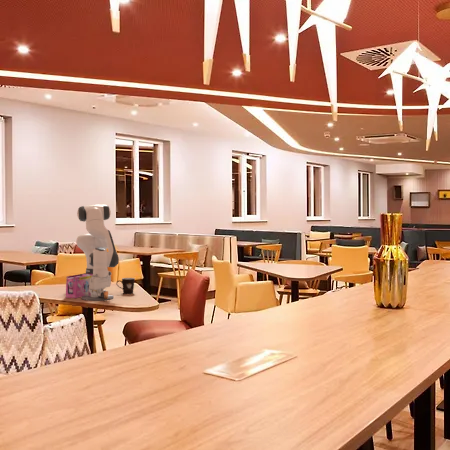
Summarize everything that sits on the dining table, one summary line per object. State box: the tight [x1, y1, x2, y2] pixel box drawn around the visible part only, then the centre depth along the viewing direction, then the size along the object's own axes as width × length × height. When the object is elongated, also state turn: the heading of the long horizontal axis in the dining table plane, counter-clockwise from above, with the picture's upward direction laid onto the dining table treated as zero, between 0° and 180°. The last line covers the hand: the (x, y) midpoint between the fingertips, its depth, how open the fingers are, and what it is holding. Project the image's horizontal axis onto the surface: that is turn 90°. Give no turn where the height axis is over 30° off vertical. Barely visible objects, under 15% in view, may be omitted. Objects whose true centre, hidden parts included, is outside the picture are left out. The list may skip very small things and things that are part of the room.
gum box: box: [65, 272, 93, 299], centre depth 371 cm, size 24×8×14 cm, turn 160°
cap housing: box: [80, 290, 114, 302], centre depth 361 cm, size 20×20×8 cm
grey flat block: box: [88, 289, 109, 299], centre depth 357 cm, size 20×11×5 cm, turn 36°
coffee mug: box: [116, 277, 135, 295], centre depth 384 cm, size 12×9×10 cm
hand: (100, 295), depth 350 cm, fingers closed
